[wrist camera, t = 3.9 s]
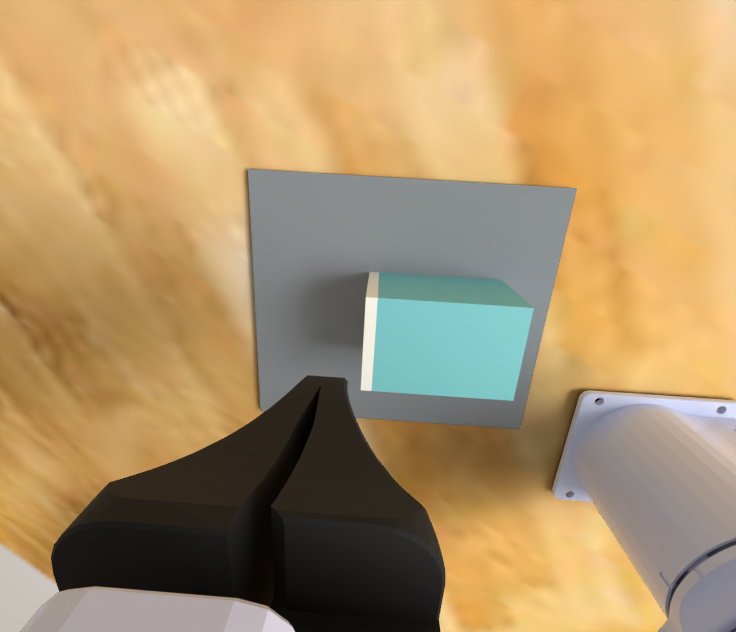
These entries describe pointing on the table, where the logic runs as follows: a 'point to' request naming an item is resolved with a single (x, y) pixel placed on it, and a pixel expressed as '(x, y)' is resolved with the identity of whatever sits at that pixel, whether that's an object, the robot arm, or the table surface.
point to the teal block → (443, 336)
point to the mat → (390, 255)
